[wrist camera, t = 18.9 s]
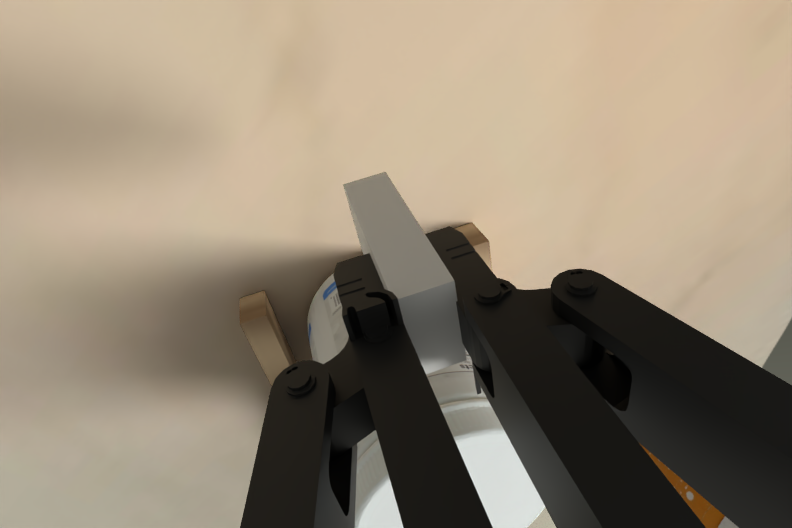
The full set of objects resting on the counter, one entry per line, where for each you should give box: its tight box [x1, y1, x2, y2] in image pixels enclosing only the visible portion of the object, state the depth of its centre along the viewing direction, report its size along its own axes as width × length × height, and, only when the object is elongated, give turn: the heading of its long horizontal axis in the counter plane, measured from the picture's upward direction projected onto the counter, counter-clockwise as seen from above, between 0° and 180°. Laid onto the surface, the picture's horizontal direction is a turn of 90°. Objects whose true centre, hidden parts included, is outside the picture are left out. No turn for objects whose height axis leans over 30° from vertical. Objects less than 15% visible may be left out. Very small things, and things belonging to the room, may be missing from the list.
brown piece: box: [240, 223, 492, 386], centre depth 32 cm, size 13×15×2 cm
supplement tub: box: [307, 273, 545, 528], centre depth 26 cm, size 10×10×15 cm
